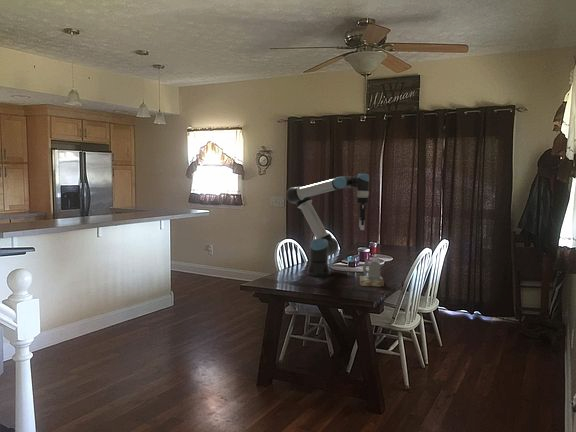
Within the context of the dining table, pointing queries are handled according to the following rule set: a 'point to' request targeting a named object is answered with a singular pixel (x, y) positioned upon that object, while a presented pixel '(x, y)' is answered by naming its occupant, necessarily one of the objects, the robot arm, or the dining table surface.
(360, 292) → the dining table surface
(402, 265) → the dining table surface
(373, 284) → the stand
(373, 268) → the mug
